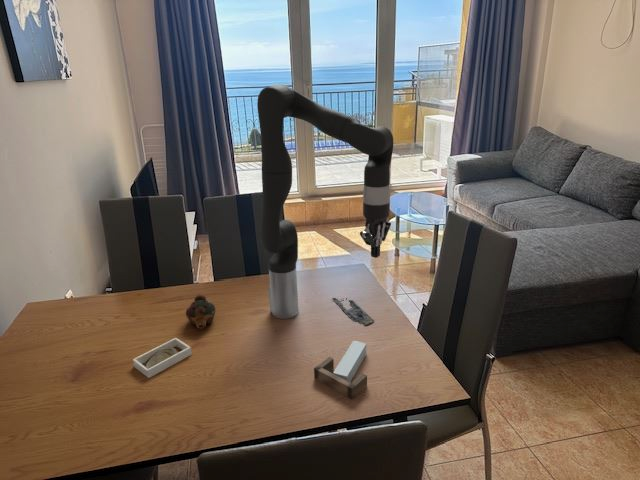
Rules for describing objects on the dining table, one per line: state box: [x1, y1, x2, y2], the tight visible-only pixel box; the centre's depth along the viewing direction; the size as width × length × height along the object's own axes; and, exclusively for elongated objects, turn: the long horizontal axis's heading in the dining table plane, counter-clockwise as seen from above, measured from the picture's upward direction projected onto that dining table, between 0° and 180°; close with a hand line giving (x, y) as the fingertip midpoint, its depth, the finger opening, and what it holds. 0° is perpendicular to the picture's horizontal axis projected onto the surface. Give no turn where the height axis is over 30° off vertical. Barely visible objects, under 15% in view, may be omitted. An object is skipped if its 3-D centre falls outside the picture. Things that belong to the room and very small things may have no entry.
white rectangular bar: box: [333, 340, 367, 383], centre depth 125 cm, size 4×16×4 cm, turn 156°
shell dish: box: [132, 337, 193, 379], centre depth 131 cm, size 8×14×2 cm, turn 139°
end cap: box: [313, 356, 368, 400], centre depth 119 cm, size 13×6×4 cm, turn 49°
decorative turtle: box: [185, 292, 216, 330], centre depth 150 cm, size 10×15×8 cm, turn 19°
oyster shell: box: [143, 347, 179, 369], centre depth 130 cm, size 6×4×10 cm
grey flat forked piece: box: [331, 297, 375, 327], centre depth 154 cm, size 21×7×2 cm, turn 22°
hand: (375, 256), depth 131 cm, fingers closed
